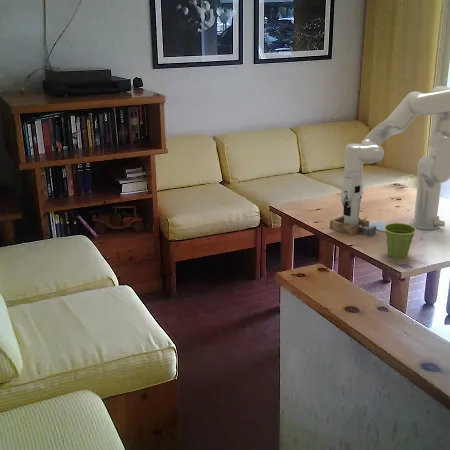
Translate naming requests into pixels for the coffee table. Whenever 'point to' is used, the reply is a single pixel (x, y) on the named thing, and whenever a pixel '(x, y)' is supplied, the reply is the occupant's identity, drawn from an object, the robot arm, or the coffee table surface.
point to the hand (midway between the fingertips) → (351, 212)
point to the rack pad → (379, 226)
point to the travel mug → (353, 209)
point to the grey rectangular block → (367, 230)
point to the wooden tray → (340, 226)
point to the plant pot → (399, 239)
